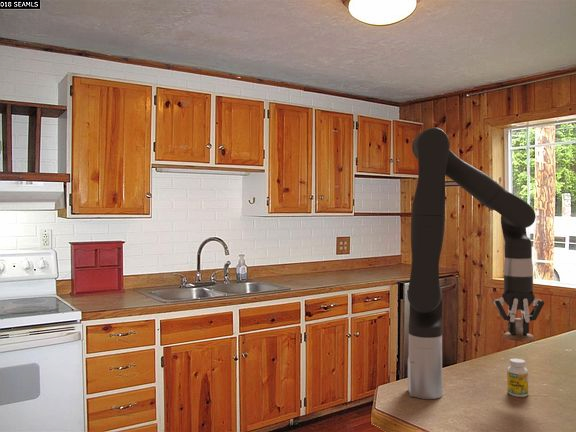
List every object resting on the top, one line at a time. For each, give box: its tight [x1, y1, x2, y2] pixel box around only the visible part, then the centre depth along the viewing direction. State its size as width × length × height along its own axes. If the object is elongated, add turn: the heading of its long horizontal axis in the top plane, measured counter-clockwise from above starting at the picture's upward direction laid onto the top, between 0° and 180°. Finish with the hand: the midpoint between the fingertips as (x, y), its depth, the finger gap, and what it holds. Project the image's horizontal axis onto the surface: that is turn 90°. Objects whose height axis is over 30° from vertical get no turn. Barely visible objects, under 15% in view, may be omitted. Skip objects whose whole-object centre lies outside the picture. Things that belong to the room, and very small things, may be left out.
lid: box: [503, 317, 534, 342], centre depth 143 cm, size 8×8×5 cm
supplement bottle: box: [506, 358, 529, 398], centre depth 144 cm, size 5×5×10 cm
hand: (518, 334), depth 143 cm, fingers closed on lid, 2 cm apart
